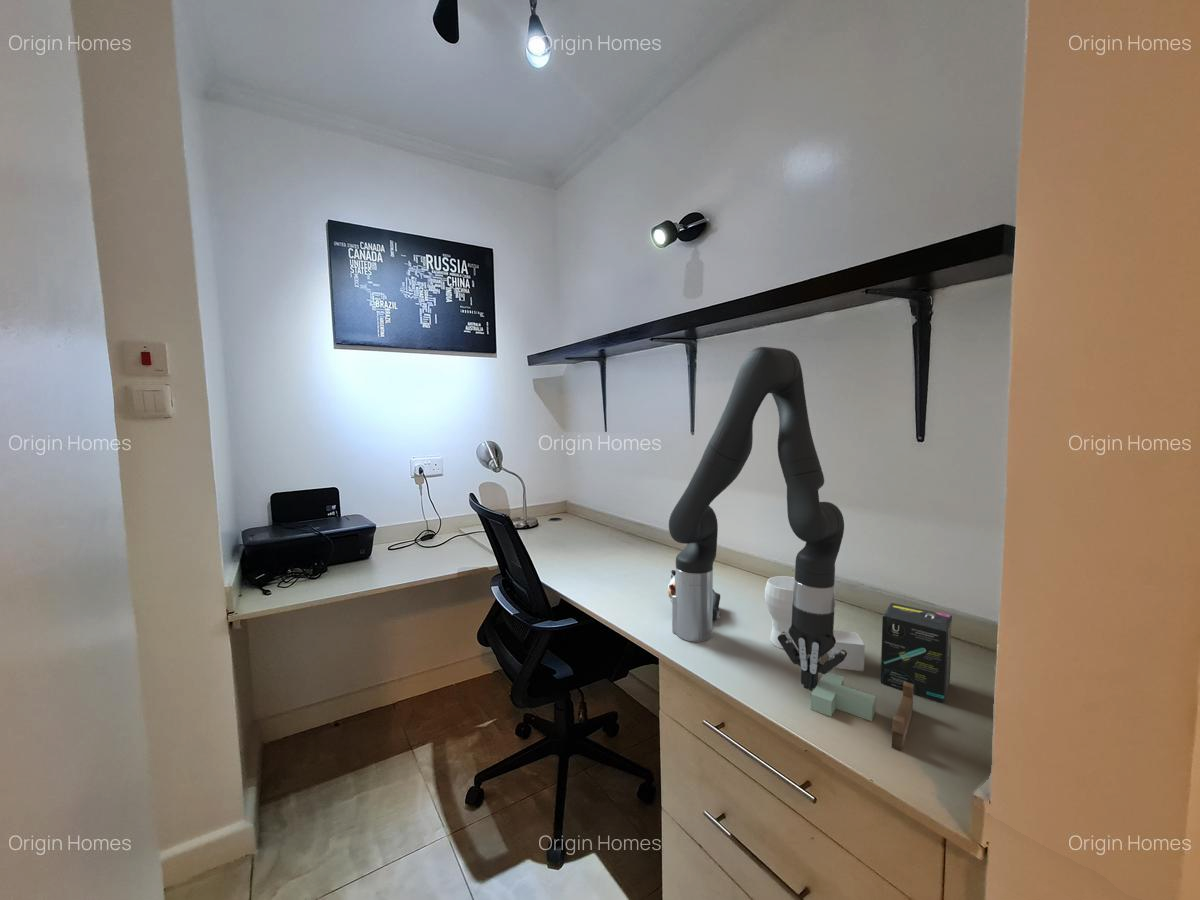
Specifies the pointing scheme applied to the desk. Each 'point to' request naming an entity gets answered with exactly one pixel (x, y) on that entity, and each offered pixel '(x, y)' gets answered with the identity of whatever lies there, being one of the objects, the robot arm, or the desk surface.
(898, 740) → the rail
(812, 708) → the t block
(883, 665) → the tampon box
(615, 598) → the desk surface
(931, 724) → the desk surface
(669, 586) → the lucky cat figurine
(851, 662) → the white cube piece
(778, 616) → the cup
